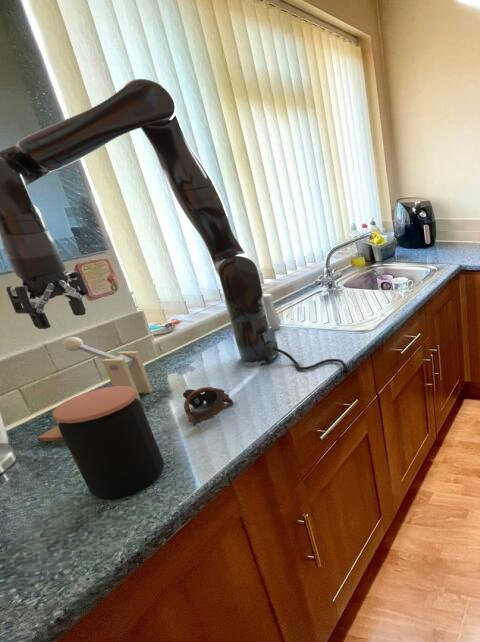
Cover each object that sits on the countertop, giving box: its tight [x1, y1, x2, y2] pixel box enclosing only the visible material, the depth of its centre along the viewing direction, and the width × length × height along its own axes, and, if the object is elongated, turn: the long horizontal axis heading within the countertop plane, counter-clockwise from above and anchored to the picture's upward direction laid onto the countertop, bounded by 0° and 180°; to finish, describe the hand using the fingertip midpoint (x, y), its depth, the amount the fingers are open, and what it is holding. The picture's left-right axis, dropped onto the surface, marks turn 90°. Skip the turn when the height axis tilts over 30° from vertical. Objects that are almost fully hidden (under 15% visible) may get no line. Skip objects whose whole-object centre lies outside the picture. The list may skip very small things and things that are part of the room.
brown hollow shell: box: [182, 386, 234, 426], centre depth 97 cm, size 12×9×8 cm
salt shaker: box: [263, 293, 282, 331], centre depth 145 cm, size 6×6×13 cm
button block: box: [36, 422, 65, 442], centre depth 90 cm, size 11×9×4 cm
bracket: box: [101, 350, 154, 401], centre depth 101 cm, size 10×8×13 cm
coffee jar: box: [51, 386, 165, 500], centre depth 74 cm, size 11×11×18 cm
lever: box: [62, 336, 133, 368], centre depth 98 cm, size 14×3×3 cm, turn 94°
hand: (63, 321), depth 95 cm, fingers open, 8 cm apart
